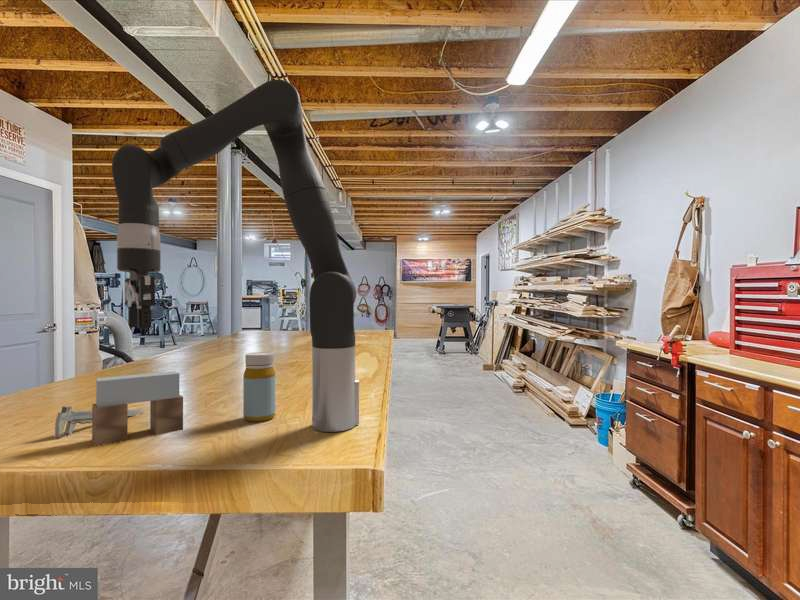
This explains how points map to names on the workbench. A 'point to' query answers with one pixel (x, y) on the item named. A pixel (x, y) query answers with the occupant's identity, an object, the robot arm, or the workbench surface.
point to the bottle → (259, 387)
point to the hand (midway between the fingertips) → (139, 327)
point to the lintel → (136, 388)
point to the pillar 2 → (166, 415)
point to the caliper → (77, 419)
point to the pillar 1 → (109, 424)
